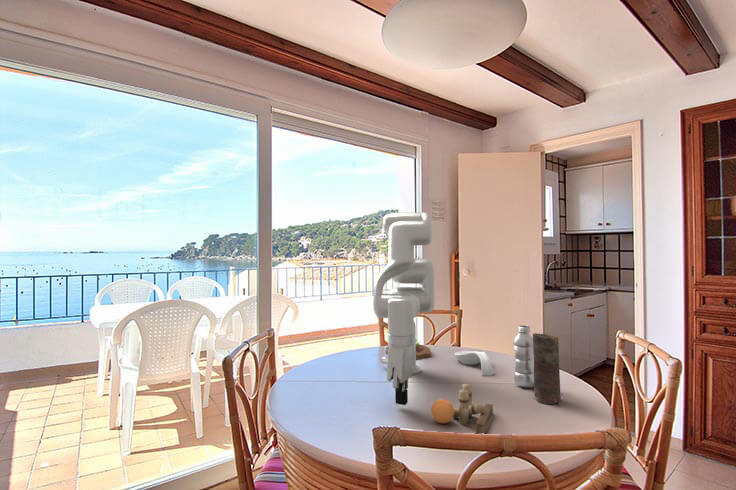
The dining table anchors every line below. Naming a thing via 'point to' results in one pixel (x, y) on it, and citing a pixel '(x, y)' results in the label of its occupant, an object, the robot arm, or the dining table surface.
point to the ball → (442, 411)
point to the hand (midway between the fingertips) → (401, 403)
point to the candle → (546, 368)
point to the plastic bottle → (524, 357)
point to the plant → (419, 351)
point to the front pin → (471, 410)
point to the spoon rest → (476, 361)
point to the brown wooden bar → (484, 419)
